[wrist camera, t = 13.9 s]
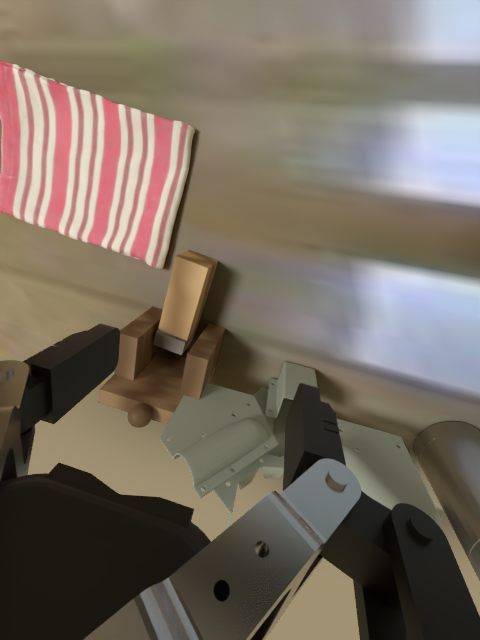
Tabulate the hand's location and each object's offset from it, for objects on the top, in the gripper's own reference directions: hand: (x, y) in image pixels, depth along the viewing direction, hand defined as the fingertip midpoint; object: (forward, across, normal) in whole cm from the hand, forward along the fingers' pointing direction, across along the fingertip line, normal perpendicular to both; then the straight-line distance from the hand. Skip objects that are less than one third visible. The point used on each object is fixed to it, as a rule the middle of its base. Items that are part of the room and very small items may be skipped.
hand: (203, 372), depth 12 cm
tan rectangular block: (+26, +8, +7) cm, 28 cm away
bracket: (+26, -9, +16) cm, 32 cm away
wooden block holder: (+26, +9, +14) cm, 30 cm away
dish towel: (+26, +23, -6) cm, 35 cm away
